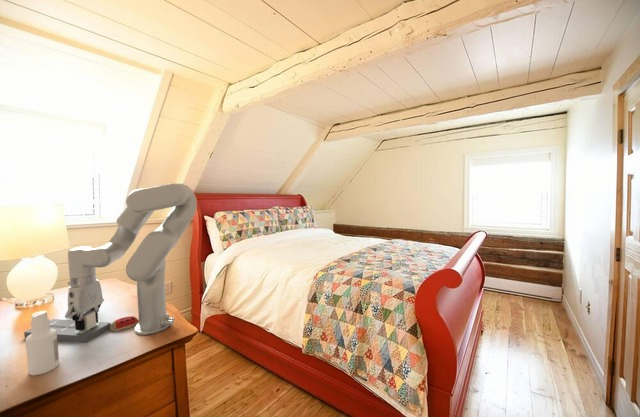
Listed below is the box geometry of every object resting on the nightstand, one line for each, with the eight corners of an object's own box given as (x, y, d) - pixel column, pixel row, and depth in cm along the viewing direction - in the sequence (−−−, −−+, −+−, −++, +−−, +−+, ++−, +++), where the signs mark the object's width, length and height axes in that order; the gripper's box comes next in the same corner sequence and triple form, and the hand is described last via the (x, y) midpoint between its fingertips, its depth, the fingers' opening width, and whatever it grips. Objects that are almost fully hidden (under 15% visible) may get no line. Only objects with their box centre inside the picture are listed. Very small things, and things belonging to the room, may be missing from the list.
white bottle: (65, 361, 89) (60, 307, 88) (45, 375, 82) (39, 318, 81) (43, 361, 89) (38, 308, 87) (21, 376, 82) (15, 318, 81)
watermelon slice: (109, 327, 110) (108, 319, 110) (138, 320, 117) (137, 312, 116) (109, 334, 105) (109, 326, 105) (140, 326, 111) (139, 318, 111)
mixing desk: (111, 328, 109) (110, 322, 109) (87, 342, 99) (86, 335, 99) (53, 324, 112) (52, 318, 112) (24, 338, 102) (24, 331, 102)
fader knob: (96, 325, 106) (95, 310, 106) (87, 330, 103) (86, 314, 102) (87, 324, 107) (85, 309, 106) (78, 329, 103) (76, 313, 103)
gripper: (69, 288, 94) (73, 339, 96) (112, 272, 111) (115, 316, 113) (50, 287, 95) (54, 337, 97) (95, 272, 112) (98, 315, 113)
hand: (87, 325), depth 105 cm, fingers open, 4 cm apart
